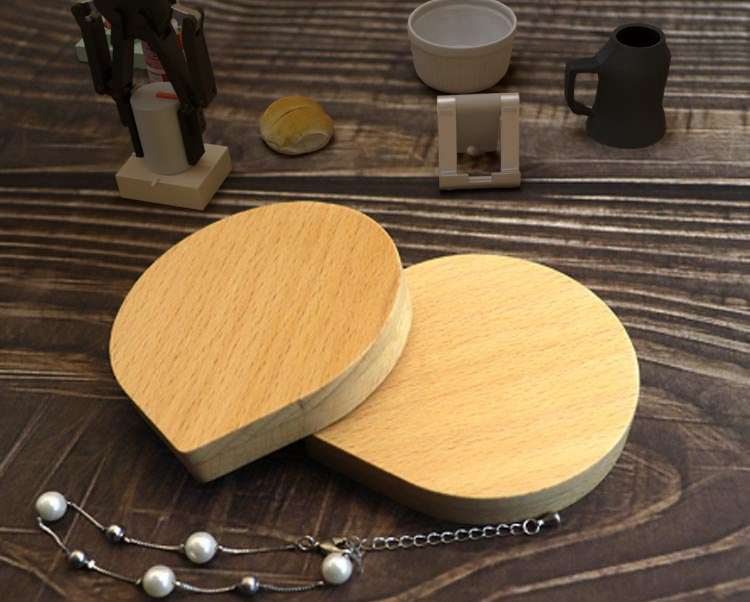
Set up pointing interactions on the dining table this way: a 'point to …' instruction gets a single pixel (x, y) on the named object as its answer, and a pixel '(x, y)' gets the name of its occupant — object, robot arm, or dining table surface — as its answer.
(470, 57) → the ramekin
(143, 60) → the button box
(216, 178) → the beige square base
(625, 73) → the mug
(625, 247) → the dining table surface
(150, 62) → the pill bottle
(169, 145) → the dial
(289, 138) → the bread roll
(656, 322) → the dining table surface
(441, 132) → the tablet stand
